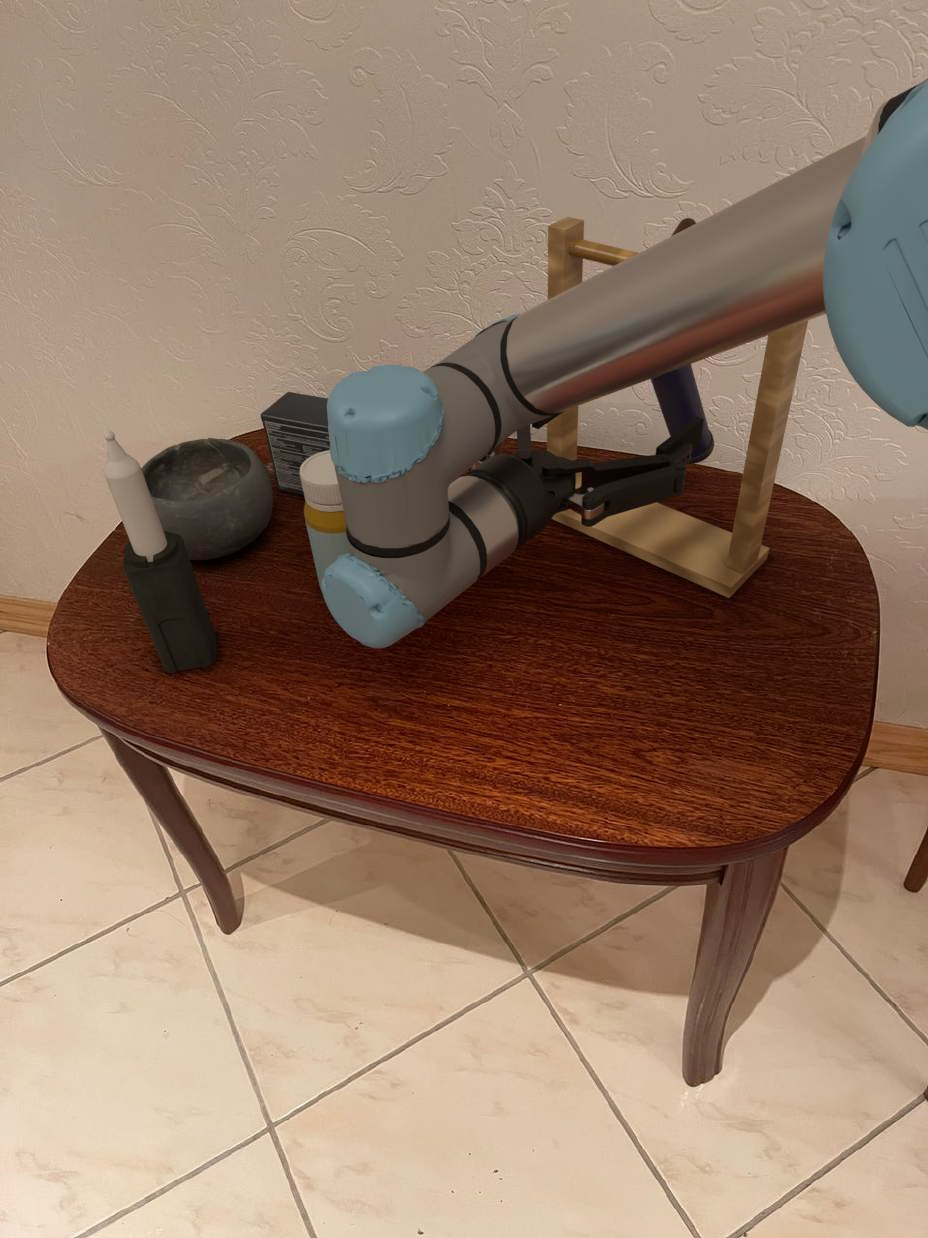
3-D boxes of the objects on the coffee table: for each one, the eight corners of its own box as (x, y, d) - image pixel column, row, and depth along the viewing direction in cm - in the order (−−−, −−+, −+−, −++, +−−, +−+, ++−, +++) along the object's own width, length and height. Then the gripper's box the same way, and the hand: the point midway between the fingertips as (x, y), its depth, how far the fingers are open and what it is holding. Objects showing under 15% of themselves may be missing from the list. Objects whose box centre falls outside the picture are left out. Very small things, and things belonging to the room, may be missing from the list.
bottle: (309, 601, 93) (281, 480, 82) (340, 561, 97) (317, 442, 87) (369, 615, 90) (347, 493, 80) (397, 573, 95) (380, 453, 85)
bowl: (135, 533, 103) (107, 459, 97) (255, 490, 108) (236, 418, 102) (172, 602, 94) (144, 526, 87) (302, 552, 99) (285, 476, 92)
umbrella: (701, 469, 96) (652, 311, 74) (666, 456, 98) (608, 299, 76) (748, 395, 97) (713, 218, 75) (712, 384, 99) (668, 209, 78)
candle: (163, 675, 86) (71, 452, 69) (165, 640, 89) (78, 420, 73) (216, 666, 86) (137, 442, 69) (216, 631, 90) (142, 411, 73)
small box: (377, 478, 109) (365, 401, 102) (351, 507, 105) (337, 429, 98) (303, 463, 112) (288, 387, 105) (276, 491, 108) (257, 414, 101)
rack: (767, 559, 93) (832, 262, 72) (728, 598, 89) (786, 295, 68) (574, 479, 106) (582, 208, 85) (533, 511, 102) (531, 233, 81)
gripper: (386, 499, 81) (531, 405, 92) (612, 612, 68) (749, 487, 79) (376, 427, 76) (530, 337, 87) (617, 534, 63) (763, 412, 74)
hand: (635, 408), depth 83 cm, fingers open, 13 cm apart
